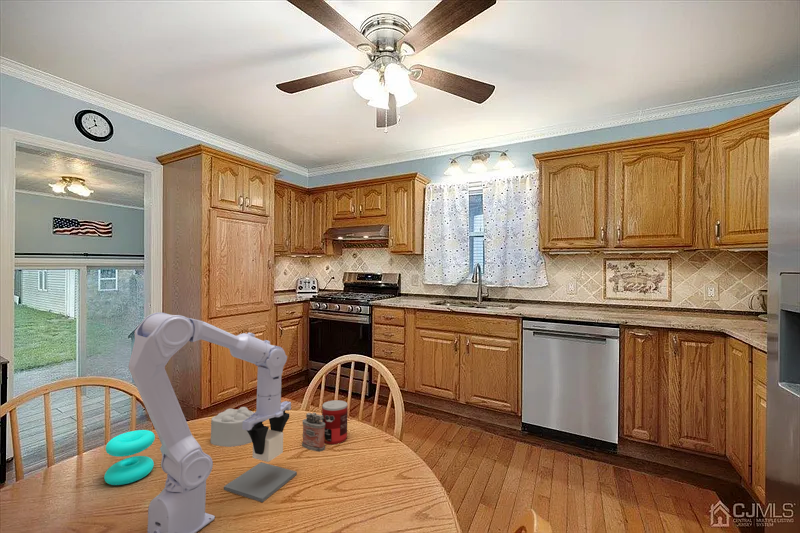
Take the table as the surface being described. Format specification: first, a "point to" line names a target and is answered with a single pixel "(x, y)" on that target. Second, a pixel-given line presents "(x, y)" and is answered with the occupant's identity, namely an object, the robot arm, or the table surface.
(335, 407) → the canned food
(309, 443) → the lighter
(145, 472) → the donuts
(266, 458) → the cube
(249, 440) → the lumpy-topped squat cylinder
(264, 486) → the grey square plate
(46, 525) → the table surface
